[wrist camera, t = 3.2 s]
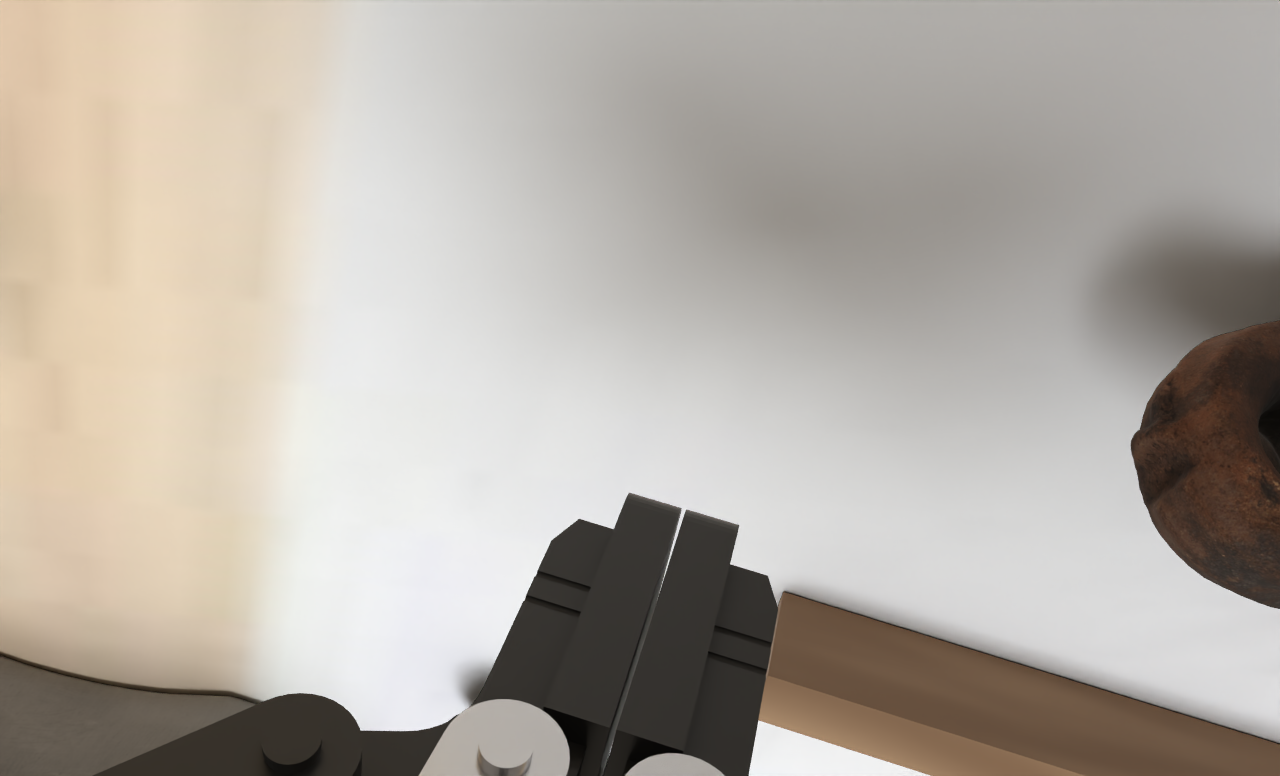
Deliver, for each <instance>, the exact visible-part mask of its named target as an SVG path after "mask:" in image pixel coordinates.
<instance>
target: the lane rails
mask: <svg viewBox="0 0 1280 776" xmlns="http://www.w3.org/2000/svg"><path fill="white" fill-rule="evenodd" d="M758 720H759V721H763V722H766V723H769V724H772V725H775V726H778V727H781V728H784V729H788V730H791V731H794V732H797V733H800V734H803V735H806V736H809V737H812V738H816V739H819V740H822V741H825V742H828V743H831V744H834V745H837V746H841V747H844V748H847V749H850V750H853V751H856V752H859V753H862V754H866V755H869V756H872V757H875V758H878V759H881V760H884V761H887V762H891V763H894V764H897V765H900V766H903V767H906V768H909V769H912V770H916V771H919V772H922V773H925V774H928V775H931V776H1280V744H1277V743H1274V742H1270V741H1267V740H1264V739H1261V738H1257V737H1254V736H1251V735H1248V734H1244V733H1241V732H1238V731H1235V730H1231V729H1228V728H1225V727H1221V726H1218V725H1215V724H1212V723H1208V722H1205V721H1202V720H1199V719H1195V718H1192V717H1189V716H1186V715H1182V714H1179V713H1176V712H1173V711H1169V710H1166V709H1163V708H1160V707H1156V706H1153V705H1150V704H1147V703H1143V702H1140V701H1137V700H1134V699H1130V698H1127V697H1124V696H1121V695H1117V694H1114V693H1111V692H1108V691H1104V690H1101V689H1098V688H1095V687H1091V686H1088V685H1085V684H1082V683H1078V682H1075V681H1072V680H1069V679H1065V678H1062V677H1059V676H1056V675H1052V674H1049V673H1046V672H1043V671H1039V670H1036V669H1033V668H1030V667H1026V666H1023V665H1020V664H1017V663H1013V662H1010V661H1007V660H1003V659H1000V658H997V657H994V656H990V655H987V654H984V653H981V652H977V651H974V650H971V649H968V648H964V647H961V646H958V645H955V644H951V643H948V642H945V641H942V640H938V639H935V638H932V637H929V636H925V635H922V634H919V633H916V632H912V631H909V630H906V629H903V628H899V627H896V626H893V625H890V624H886V623H883V622H880V621H877V620H873V619H870V618H867V617H864V616H860V615H857V614H854V613H851V612H847V611H844V610H841V609H838V608H834V607H831V606H828V605H825V604H821V603H818V602H815V601H812V600H808V599H805V598H802V597H799V596H795V595H792V594H789V593H786V592H783V594H782V597H781V599H780V602H779V605H778V614H777V619H776V625H775V631H774V636H773V642H772V645H771V653H770V658H769V664H768V669H767V673H766V680H765V686H764V691H763V697H762V702H761V708H760V713H759V719H758Z"/></svg>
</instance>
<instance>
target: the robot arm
mask: <svg viewBox="0 0 1280 776" xmlns="http://www.w3.org/2000/svg"><path fill="white" fill-rule="evenodd" d="M681 509H682V508H679V507H676V506H672V505H669V504H666V503H662V502H659V501H656V500H652V499H649V498H645V497H642V496H639V495H635V494H632V493H629V494H628V496H627V498H626V500H625V503H624V505H623V508H622V510H621V513H620V515H619V518H618V520H617V523H616V525H615V528H614V529H611V528H607V527H604V526H601V525H597V524H594V523H591V522H587V521H584V520H581V519H578V520H577V521H576V522H575V523H573V524H572V525H571V526H570V527H568V528H567V529H566V530H564V531H563V532H562V533H561V534H559V535H558V536H557V537H556V538H554V539H553V540H552V541H551V543H550V545H549V547H548V550H547V552H546V554H545V556H544V558H543V560H542V562H541V565H540V567H539V569H538V572H537V575H536V576H535V577H534V580H533V582H532V584H531V586H530V588H529V590H528V593H527V595H526V598H525V601H523V603H522V605H521V608H520V610H519V612H518V614H517V616H516V618H515V620H514V623H513V625H512V627H511V629H510V631H509V633H508V635H507V638H506V640H505V642H504V644H503V646H502V648H501V651H500V653H499V655H498V657H497V659H496V661H495V663H494V666H493V668H492V670H491V672H490V674H489V676H488V678H487V681H486V683H485V685H484V687H483V689H482V691H481V693H480V694H479V696H478V698H477V699H476V700H475V701H474V702H473V704H472V705H471V706H470V707H469V708H467V709H466V710H464V711H463V712H462V713H460V714H459V715H458V716H457V717H456V718H454V719H453V720H451V721H448V722H446V723H444V724H442V725H439V726H436V727H433V728H430V729H424V730H419V731H360V728H359V726H358V724H357V722H356V720H355V719H354V717H353V716H352V715H351V714H350V712H349V711H348V710H346V709H345V708H344V707H343V706H342V705H340V704H338V703H337V702H335V701H333V700H331V699H328V698H326V697H323V696H318V695H314V694H303V693H298V694H287V695H283V696H278V697H275V698H272V699H269V700H266V701H264V702H261V703H259V704H257V705H254V706H252V707H250V708H248V709H245V710H243V711H241V712H238V713H236V714H234V715H231V716H229V717H227V718H224V719H222V720H220V721H217V722H215V723H213V724H211V725H208V726H206V727H204V728H201V729H199V730H197V731H194V732H192V733H190V734H187V735H185V736H183V737H180V738H178V739H176V740H174V741H171V742H169V743H167V744H164V745H162V746H160V747H157V748H155V749H153V750H150V751H148V752H146V753H144V754H141V755H139V756H137V757H134V758H132V759H130V760H127V761H125V762H123V763H120V764H118V765H116V766H113V767H111V768H109V769H107V770H104V771H102V772H100V773H97V774H95V775H93V776H602V775H603V772H604V769H605V765H606V762H607V759H608V756H609V753H610V756H609V760H608V763H607V767H606V771H605V775H604V776H748V775H749V769H750V763H751V758H752V752H753V747H754V741H755V736H756V730H757V725H758V719H759V713H760V708H761V702H762V697H763V691H764V686H765V680H766V673H767V669H768V664H769V658H770V653H771V645H772V642H773V636H774V631H775V625H776V619H777V614H778V607H777V604H776V601H775V598H774V594H773V591H772V588H771V585H770V582H769V579H768V576H766V575H763V574H760V573H757V572H753V571H750V570H747V569H743V568H740V567H737V566H733V565H730V561H731V557H732V553H733V549H734V545H735V541H736V537H737V533H738V528H739V525H737V524H733V523H730V522H727V521H723V520H720V519H717V518H713V517H710V516H707V515H703V514H700V513H697V512H693V511H690V510H686V512H685V515H684V518H683V521H682V524H681V527H680V530H679V534H678V537H677V540H676V543H675V546H674V549H673V552H672V556H671V559H670V562H669V565H668V568H667V571H666V575H665V578H664V581H663V577H664V573H665V570H666V566H667V562H668V559H669V555H670V551H671V547H672V544H673V540H674V536H675V532H676V529H677V525H678V521H679V518H680V514H681ZM662 581H663V584H662ZM661 585H662V587H661ZM660 588H661V590H660ZM659 592H660V593H659ZM658 596H659V597H658ZM657 599H658V600H657ZM612 743H613V744H612ZM611 747H612V748H611ZM610 750H611V752H610Z"/></svg>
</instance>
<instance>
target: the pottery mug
mask: <svg viewBox="0 0 1280 776" xmlns="http://www.w3.org/2000/svg"><path fill="white" fill-rule="evenodd" d="M1131 452H1132V456H1133V459H1134V463H1135V468H1136V470H1137V475H1138V480H1139V487H1140V491H1141V493H1142V496H1143V500H1144V503H1145V505H1146V507H1147V509H1148V511H1149V514H1150V517H1151V519H1152V522H1153V524H1154V525H1155V527H1156V529H1157V530H1158V532H1159V533H1160V535H1161V536H1162V538H1163V539H1164V540H1165V541H1166V542H1167V544H1168V545H1169V546H1170V547H1171V549H1172V550H1173V551H1174V552H1175V553H1176V554H1177V555H1178V556H1179V557H1180V558H1181V559H1182V560H1183V561H1184V562H1185V563H1186V564H1187V565H1188V566H1189V567H1191V568H1192V569H1194V570H1195V571H1196V572H1198V573H1199V574H1200V575H1201V576H1203V577H1204V578H1206V579H1208V580H1210V581H1212V582H1214V583H1216V584H1218V585H1220V586H1221V587H1224V588H1226V589H1228V590H1231V591H1233V592H1235V593H1237V594H1239V595H1241V596H1243V597H1246V598H1248V599H1251V600H1254V601H1256V602H1258V603H1261V604H1264V605H1267V606H1270V607H1273V608H1278V609H1280V321H1275V322H1269V323H1264V324H1260V325H1254V326H1250V327H1247V328H1245V329H1242V330H1238V331H1234V332H1230V333H1225V334H1222V335H1219V336H1216V337H1213V338H1211V339H1208V340H1206V341H1203V342H1202V343H1201V344H1199V345H1198V346H1196V347H1195V348H1194V349H1192V350H1191V351H1190V352H1189V353H1188V354H1187V355H1186V356H1185V357H1184V358H1183V359H1182V360H1181V361H1180V362H1179V364H1178V365H1177V367H1176V368H1175V369H1173V370H1172V371H1171V372H1170V373H1169V374H1168V375H1167V376H1166V378H1165V379H1164V380H1163V381H1162V382H1161V383H1160V384H1159V385H1158V386H1157V388H1156V389H1155V391H1154V393H1153V395H1152V397H1151V398H1150V400H1149V401H1148V403H1147V406H1146V409H1145V412H1144V415H1143V419H1142V423H1141V427H1140V430H1139V431H1137V432H1136V433H1135V434H1134V436H1133V438H1132V440H1131Z"/></svg>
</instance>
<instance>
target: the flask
mask: <svg viewBox="0 0 1280 776" xmlns="http://www.w3.org/2000/svg"><path fill="white" fill-rule="evenodd" d="M254 705H257V704H255V703H252V702H248V701H245V700H242V699H239V698H236V697H232V696H212V695H189V694H166V693H158V692H150V691H142V690H134V689H128V688H122V687H117V686H111V685H105V684H100V683H95V682H91V681H87V680H82V679H78V678H73V677H69V676H65V675H61V674H58V673H54V672H50V671H47V670H43V669H39V668H36V667H32V666H29V665H26V664H23V663H20V662H17V661H14V660H12V659H9V658H6V657H3V656H0V776H93V775H95V774H97V773H100V772H102V771H104V770H107V769H109V768H111V767H113V766H116V765H118V764H120V763H123V762H125V761H127V760H130V759H132V758H134V757H137V756H139V755H141V754H144V753H146V752H148V751H150V750H153V749H155V748H157V747H160V746H162V745H164V744H167V743H169V742H171V741H174V740H176V739H178V738H180V737H183V736H185V735H187V734H190V733H192V732H194V731H197V730H199V729H201V728H204V727H206V726H208V725H211V724H213V723H215V722H217V721H220V720H222V719H224V718H227V717H229V716H231V715H234V714H236V713H238V712H241V711H243V710H245V709H248V708H250V707H252V706H254Z"/></svg>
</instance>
